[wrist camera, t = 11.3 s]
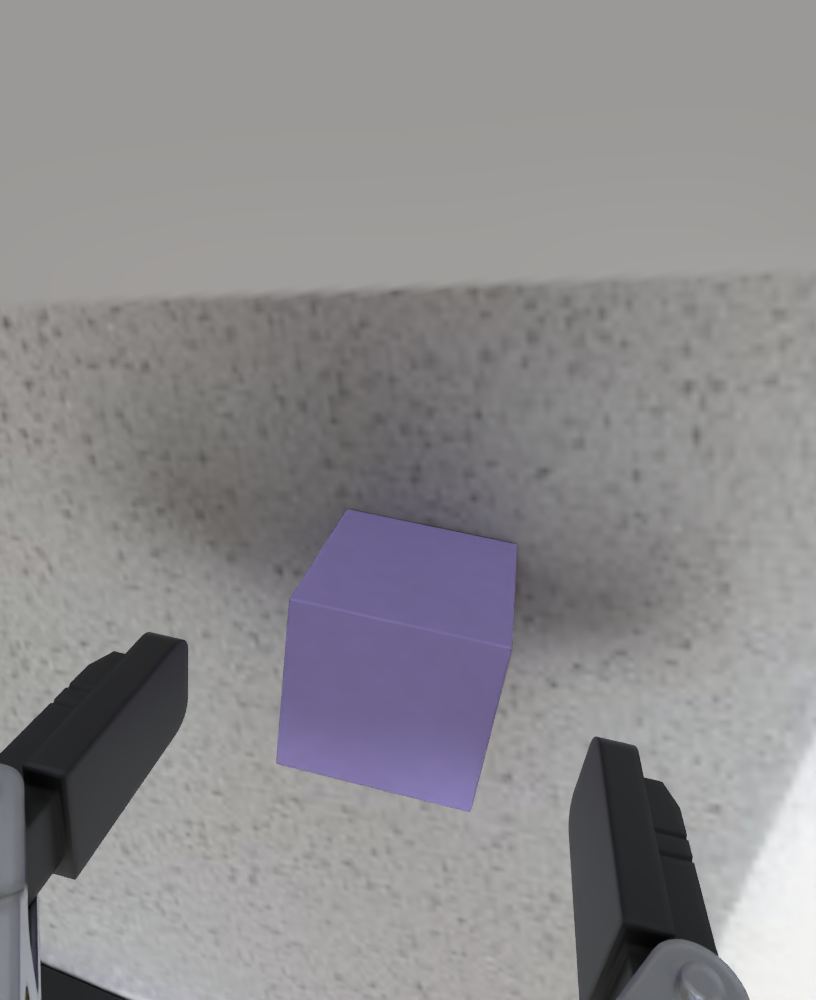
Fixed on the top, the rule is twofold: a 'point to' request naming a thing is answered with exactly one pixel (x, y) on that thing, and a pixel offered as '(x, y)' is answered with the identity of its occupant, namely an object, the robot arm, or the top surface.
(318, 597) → the lavender cube
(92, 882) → the top surface
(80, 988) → the smart home device
